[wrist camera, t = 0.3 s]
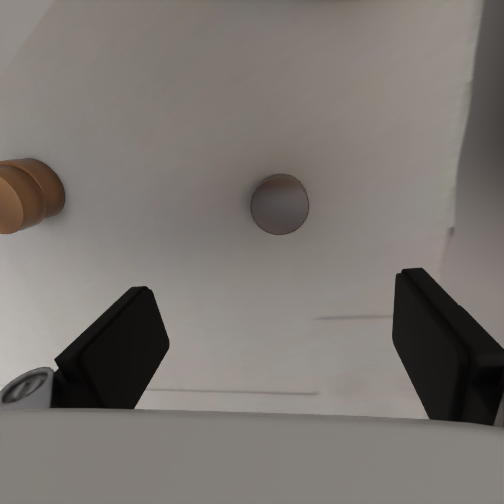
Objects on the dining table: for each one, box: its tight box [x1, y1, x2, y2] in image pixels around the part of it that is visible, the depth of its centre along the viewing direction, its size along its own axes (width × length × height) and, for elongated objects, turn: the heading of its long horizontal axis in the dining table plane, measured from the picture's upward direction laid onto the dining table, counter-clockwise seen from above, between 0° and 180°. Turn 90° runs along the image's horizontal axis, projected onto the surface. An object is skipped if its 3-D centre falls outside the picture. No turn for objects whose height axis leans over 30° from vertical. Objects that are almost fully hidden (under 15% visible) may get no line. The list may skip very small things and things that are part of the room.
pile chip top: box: [0, 165, 46, 234], centre depth 25 cm, size 6×6×2 cm
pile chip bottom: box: [0, 159, 65, 219], centre depth 27 cm, size 6×6×2 cm
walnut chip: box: [251, 174, 309, 235], centre depth 24 cm, size 5×5×2 cm
